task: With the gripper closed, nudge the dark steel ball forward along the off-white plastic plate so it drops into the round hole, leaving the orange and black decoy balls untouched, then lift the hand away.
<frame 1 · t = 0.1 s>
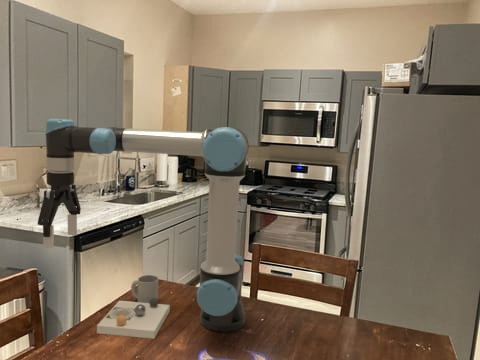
hand: (61, 240, 123), 28 cm above the table, fingers open, 13 cm apart
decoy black: (153, 302, 138), point 4 cm above the table, touching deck
ball: (140, 310, 132), point 4 cm above the table, touching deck
cup: (144, 302, 147), on the table
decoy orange: (121, 319, 125), point 4 cm above the table, touching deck
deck: (135, 321, 132), on the table
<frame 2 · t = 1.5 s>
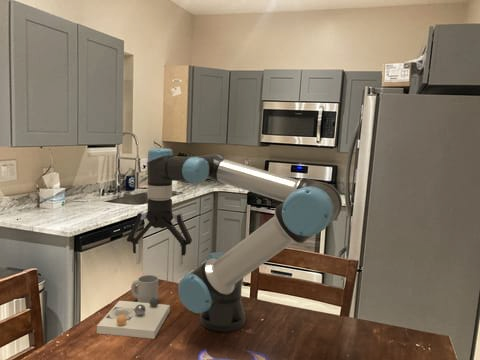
hand: (159, 264, 129), 20 cm above the table, fingers open, 13 cm apart
nothing on the table moved.
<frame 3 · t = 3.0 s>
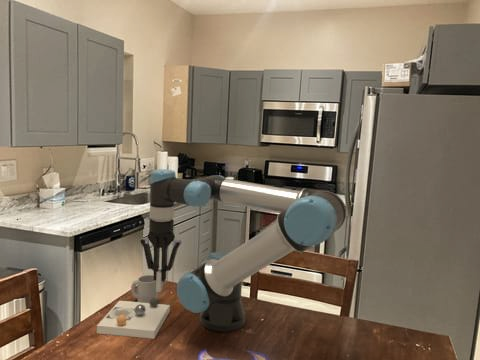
hand: (159, 290, 130), 12 cm above the table, fingers closed
nothing on the table moved.
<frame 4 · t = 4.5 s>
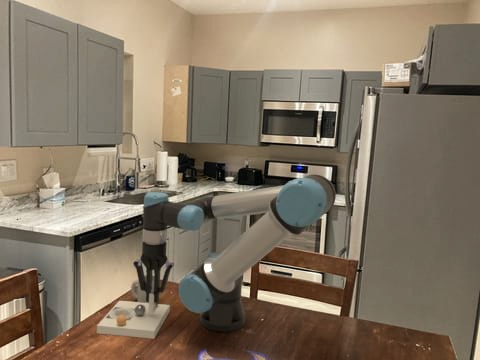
hand: (152, 311, 132), 4 cm above the table, fingers closed
nothing on the table moved.
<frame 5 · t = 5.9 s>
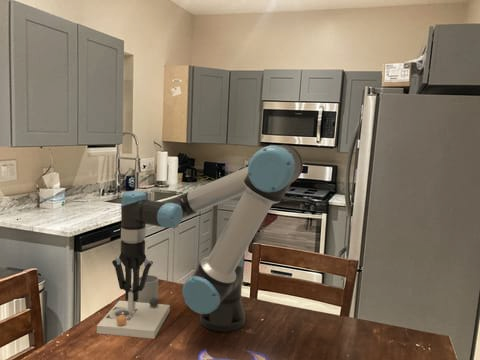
hand: (131, 309, 132), 4 cm above the table, fingers closed
ball: (123, 315, 132), point 2 cm above the table, tilted 141°
everything else where it was.
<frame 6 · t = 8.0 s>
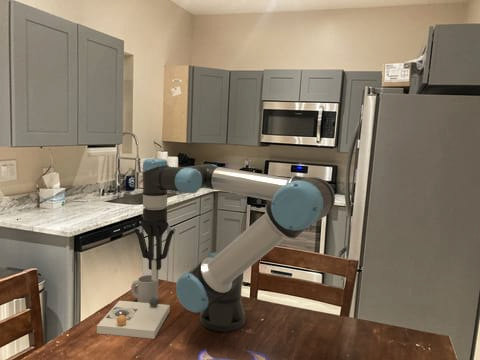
hand: (155, 278, 131), 15 cm above the table, fingers closed
ball: (120, 315, 132), point 2 cm above the table, tilted 115°
everything else where it was.
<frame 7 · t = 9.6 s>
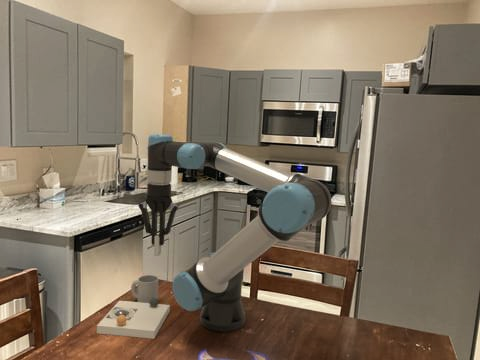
hand: (157, 254, 132), 22 cm above the table, fingers closed
nothing on the table moved.
at the end: ball 0.4 cm from the target spot in the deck, point 1.7 cm above the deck's base; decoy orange moved 0.1 cm from its start; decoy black moved 0.1 cm from its start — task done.
